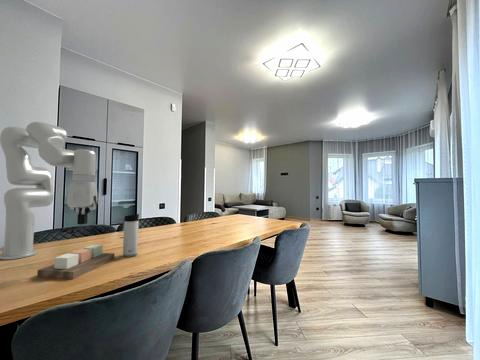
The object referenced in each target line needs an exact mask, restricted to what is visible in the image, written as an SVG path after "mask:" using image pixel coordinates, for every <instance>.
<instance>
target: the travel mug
mask: <svg viewBox="0 0 480 360" xmlns="http://www.w3.org/2000/svg"><path fill="white" fill-rule="evenodd" d="M139 215H140V214H139V213H136V214H127V215H124V223H123V240H122V241H123V243H122V244H123V245H122V249H123V250H122V257H125V258H132V257H136V256H137V255H138V249H139V248H138V246H139V245H138V243H139Z"/></svg>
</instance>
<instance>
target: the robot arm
mask: <svg viewBox="0 0 480 360" xmlns="http://www.w3.org/2000/svg"><path fill="white" fill-rule="evenodd" d="M67 139H68V134H67V131H66V130H65V129H64V128H63V127H60V126H57V125H53V124H49V123H45V122H43V121H33V122H30V123H29V124H27V125H26V127H19V126H18V127H17V126H7V127H5V128H3V129H2V131H1V132H0V145H1V149H2V151H3V154H4V156H5V168H6V169H5V170H6V179H7V181H8V183H9V184H11V185H12V186H13V185H14V186H24V187H14V188H10V189H8V190H6V192H5V193H3V194H4V195H3V202H4V208H5V224H4V225H5V228H4V242H3V243H4V244H3V246H2V247H0V252H1V254H0V260H17V259H22V258H27V257H31V256H35V255H36V254H38V250H37V249H35V248H34V236H35V235H34V234H35V215H34V213H33V211H31V210H30V209H31V208H41V207H43V208H45V207H48V206H50V205H52V204H53V202H54V186H53V177H52V173H51V171H50V170H48V169H47V168H46V167H40V166H33V165H32V158H31V155H30V154H29V153H28V152H27V150H26V149H24V148H23V147H26V148H32V149H37V151H38V156H39V157H40V158H41V160H43V162H44V163H47V164H48V165H50V166H51V167H52V166H53V167H58V168H69V169H72V176H71V177H70V179H71V181H72V182H70V184H69V188H68V192H67V198H66V199H67V201H66V204H67V205H66V206H67V207H69V209H70V210H72V211H74V212H75V214H76V215H77V222H76V223H77V224H76V225H85V224H88V215H89V214H90V212H92V211H93V210H96V209H97V205H98V199H99V198H98V188H97V183H96V182H95V181H96V163H97V162H96V160H97V156H96V152H95V151H93V150H90V149H81V148H80V149H76V150H71V149H66V148H64V145H65V142H67ZM25 186H26V187H25ZM27 186H31V187H27ZM32 186H33V187H32Z"/></svg>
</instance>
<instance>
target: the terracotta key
mask: <svg viewBox="0 0 480 360" xmlns="http://www.w3.org/2000/svg"><path fill="white" fill-rule="evenodd" d="M69 254H79V257H78V263H83V262H85V261H87V260H90V259H91V249H83V248H79V249H76V250H73V251H70V252H69Z"/></svg>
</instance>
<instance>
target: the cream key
mask: <svg viewBox="0 0 480 360" xmlns="http://www.w3.org/2000/svg"><path fill="white" fill-rule="evenodd" d="M78 257H79V254H70V253H64V254H61V255H58V256H56V257H54V263H53V264H54V269H68V268H71V267H73V266H76V265H78Z"/></svg>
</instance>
